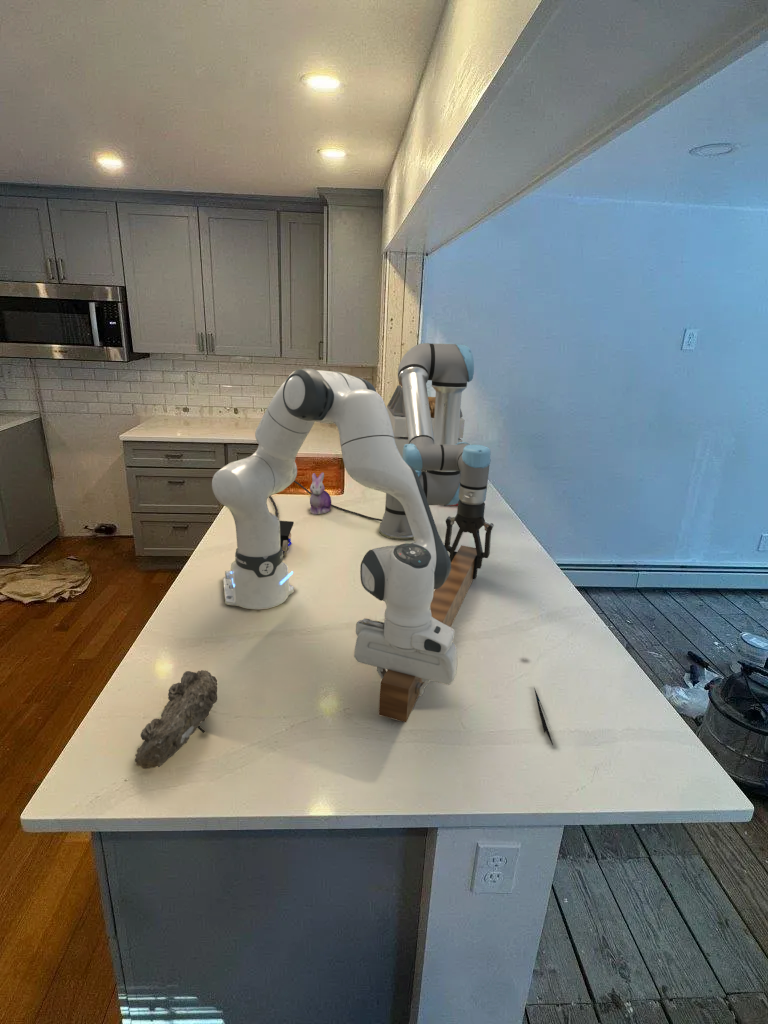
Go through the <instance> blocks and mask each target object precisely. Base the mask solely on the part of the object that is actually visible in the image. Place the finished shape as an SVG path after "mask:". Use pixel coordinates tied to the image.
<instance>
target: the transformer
mask: <svg viewBox="0 0 768 1024" xmlns="http://www.w3.org/2000/svg"><path fill="white" fill-rule="evenodd" d="M435 397H436V396H428V401H429V408H430V415H431V422H432V429H434V413H435ZM386 409H387V412H388V414H389V418H390V421H391V425H392V429H393V434H394V439H395V444H396V447H397V449H398V451H399V453H400V455H401V457H402V456H403V447H404V445H406V444H409V442H408V433H407V425H406V416H405V407H404V398H403V389H402V386H401V385H400V384H398V385H397V386H396V388H395V390H394V392H393V394H392V395H391V398H390V400H389V402H388V404H387V405H386ZM464 429H465V419H464V418H463V411H462V408H460V421H459V435H458V443H459V442H464V441H463V440H462V439H463V438H464V431H465V430H464ZM402 458H403V457H402Z"/></svg>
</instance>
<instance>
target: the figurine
mask: <svg viewBox="0 0 768 1024" xmlns="http://www.w3.org/2000/svg"><path fill="white" fill-rule="evenodd" d="M324 478H325V473H324V472H321V473H319V475H318V476H317V474H316V473H315V472H313V473H312V474H311V481H312V482H311V484H310V487H309V492H311V493H312V495H311V494H310V496H309V506H310V508H309V511H310V514H313V515H322V514H327V513H329V512H331V508H332V506H331V504H332V498H331V495H330V493H329V492H327V491H326V490H325V489H326V488H325V485H324V483H323V481H324Z"/></svg>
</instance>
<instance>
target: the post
mask: <svg viewBox="0 0 768 1024" xmlns="http://www.w3.org/2000/svg"><path fill="white" fill-rule="evenodd" d="M456 552H457V553H456V555H455V557H454V558H453V560H452V562H451V571H450V574H449V576H448V578H447V580H446V581H445V583H444V584H443V585H442V586H441V587H440V588H439V589H434V594H433V599H432V602H431V605H430V609H431V614H432V617H433V618H435V619H436V620H438V621H440V622H442V623H443V624H445V625H447V626H449V627H451V628H452V626H453V624H454V621H455V619H456V617H457V615H458V613H459V611H460V608H461V607H462V605H463V602H464V600H465V598H466V595H468V592H469V589H470V587H471V585H472V584H473V581H474V579H473V571H474V562H475V558H476V555H477V552H476V547H473V546H469V545H467V546H466V545H460V547H459V548H458V549H457V551H456ZM418 682H420V683H422V678H419V677H415V676H412V675H408V674H404V673H400V672H396V671H392V670H387V669H386V673H385V675H384V677H383V678H381V680H380V682H379V684H380V685H379V698H378V699H379V701H378V716H380V717H384V718H389V719H391V720H395V721H398V722H402V723H407V722H408V720H409V718H410V715H411V714H412V712H413V710H414V707H415V705H416V703H417V701H418V699H419V696H420V695H418V694H415V688H416V685H417V683H418Z"/></svg>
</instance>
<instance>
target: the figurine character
mask: <svg viewBox="0 0 768 1024" xmlns="http://www.w3.org/2000/svg"><path fill="white" fill-rule="evenodd" d="M279 521H280V546H281V547H282V552H283V556H285V553H286V552H288V551H289V547H290V546H292V545H293V542H292V533H291V532H292V529H293V526H294V524H295V523H294V521H289V520H279Z"/></svg>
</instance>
